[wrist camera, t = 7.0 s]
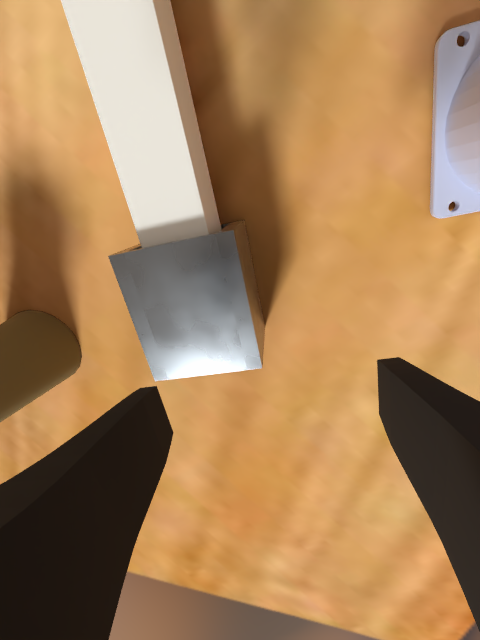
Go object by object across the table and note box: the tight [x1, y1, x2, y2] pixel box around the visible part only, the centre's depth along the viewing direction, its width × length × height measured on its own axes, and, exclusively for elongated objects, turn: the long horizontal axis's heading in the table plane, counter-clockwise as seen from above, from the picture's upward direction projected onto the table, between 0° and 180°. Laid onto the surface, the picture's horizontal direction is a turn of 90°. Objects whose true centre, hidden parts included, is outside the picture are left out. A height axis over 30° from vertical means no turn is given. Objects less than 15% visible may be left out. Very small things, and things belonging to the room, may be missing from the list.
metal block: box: [108, 220, 265, 381], centre depth 17 cm, size 6×7×5 cm
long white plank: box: [61, 0, 221, 248], centre depth 13 cm, size 4×19×4 cm, turn 12°
